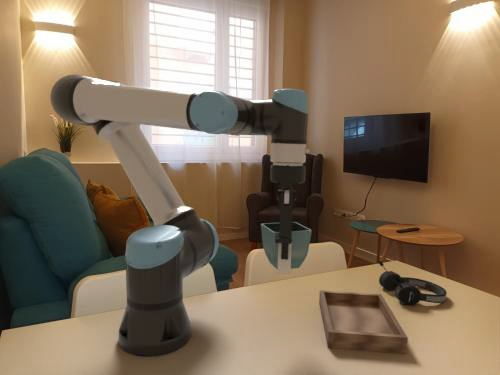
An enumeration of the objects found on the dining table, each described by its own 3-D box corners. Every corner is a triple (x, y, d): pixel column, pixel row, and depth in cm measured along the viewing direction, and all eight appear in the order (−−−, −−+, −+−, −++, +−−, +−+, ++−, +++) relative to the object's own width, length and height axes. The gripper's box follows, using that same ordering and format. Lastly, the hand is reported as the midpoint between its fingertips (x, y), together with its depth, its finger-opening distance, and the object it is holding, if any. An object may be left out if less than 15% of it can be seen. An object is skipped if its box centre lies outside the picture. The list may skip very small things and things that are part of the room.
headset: (370, 254, 111) (431, 261, 114) (364, 285, 112) (425, 291, 115) (393, 270, 98) (462, 277, 100) (386, 304, 99) (454, 310, 101)
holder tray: (327, 347, 78) (328, 332, 78) (319, 302, 100) (319, 290, 100) (406, 353, 77) (407, 337, 76) (380, 306, 99) (381, 294, 98)
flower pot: (258, 261, 85) (259, 222, 84) (294, 258, 88) (295, 221, 87) (272, 274, 77) (273, 232, 76) (310, 271, 80) (312, 230, 79)
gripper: (308, 168, 68) (303, 285, 71) (304, 161, 90) (300, 251, 93) (267, 167, 69) (263, 282, 72) (273, 160, 91) (270, 249, 94)
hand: (284, 264), depth 82 cm, fingers closed on flower pot, 10 cm apart
